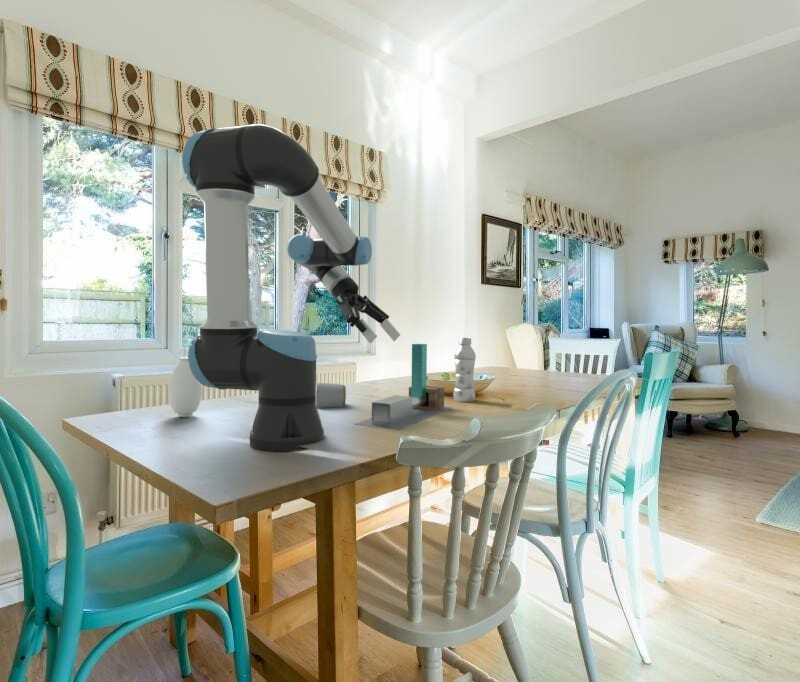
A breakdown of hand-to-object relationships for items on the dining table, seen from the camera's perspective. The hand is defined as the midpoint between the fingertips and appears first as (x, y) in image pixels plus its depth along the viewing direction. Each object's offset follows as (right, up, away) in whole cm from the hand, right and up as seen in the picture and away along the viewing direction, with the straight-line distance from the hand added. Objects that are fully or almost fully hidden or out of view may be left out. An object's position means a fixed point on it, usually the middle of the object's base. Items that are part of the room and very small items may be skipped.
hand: (386, 338), depth 142 cm
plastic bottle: (+23, -20, +13) cm, 33 cm away
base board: (+6, -21, -10) cm, 24 cm away
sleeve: (+2, -20, -18) cm, 27 cm away
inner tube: (+8, -18, -7) cm, 21 cm away
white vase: (-52, -20, -10) cm, 56 cm away
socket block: (+11, -19, 0) cm, 22 cm away
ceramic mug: (-16, -20, +4) cm, 26 cm away
